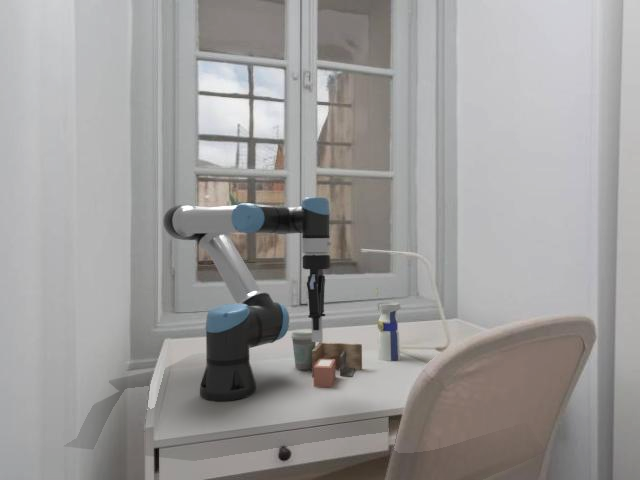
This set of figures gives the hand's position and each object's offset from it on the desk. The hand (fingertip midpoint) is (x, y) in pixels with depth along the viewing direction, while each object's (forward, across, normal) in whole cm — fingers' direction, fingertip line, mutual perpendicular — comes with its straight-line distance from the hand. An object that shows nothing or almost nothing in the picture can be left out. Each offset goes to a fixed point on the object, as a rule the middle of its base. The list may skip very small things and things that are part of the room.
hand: (317, 341), depth 110 cm
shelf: (+14, +19, -3) cm, 24 cm away
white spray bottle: (+14, +38, -18) cm, 44 cm away
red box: (+14, +10, 0) cm, 18 cm away
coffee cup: (+14, +22, +9) cm, 28 cm away
